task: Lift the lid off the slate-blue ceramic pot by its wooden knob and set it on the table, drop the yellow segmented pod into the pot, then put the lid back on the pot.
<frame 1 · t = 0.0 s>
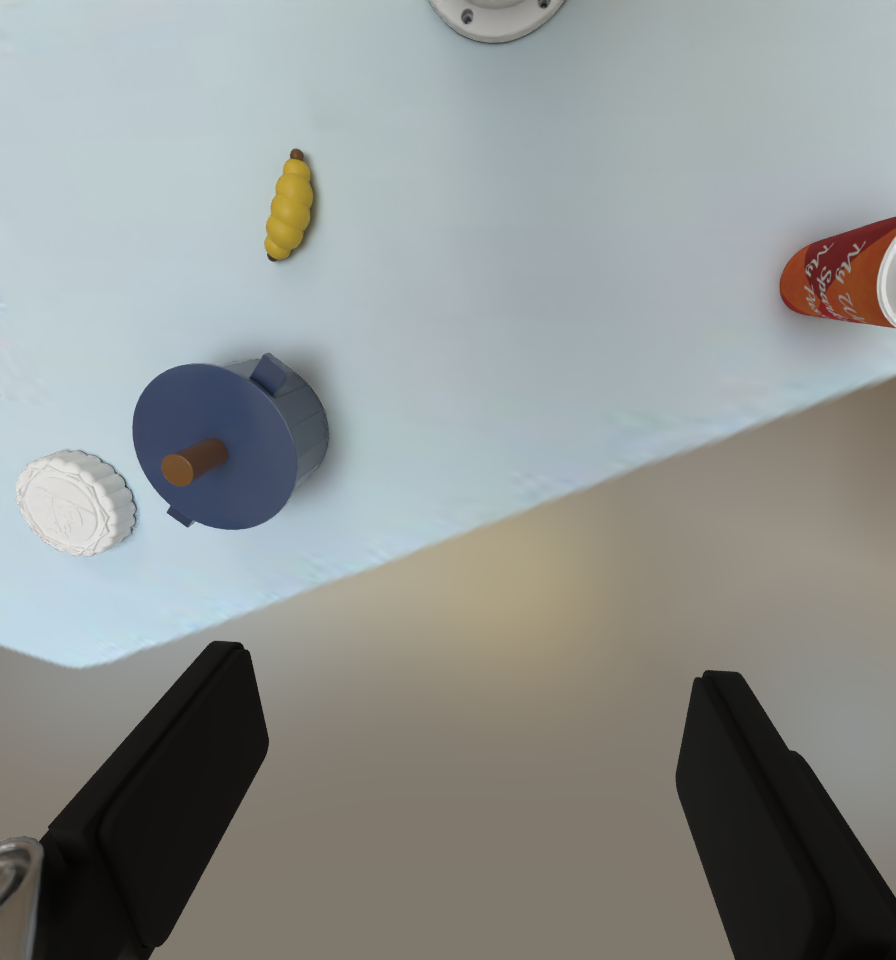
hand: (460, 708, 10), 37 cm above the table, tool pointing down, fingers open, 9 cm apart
pot: (265, 426, 49), on the table
lid: (217, 450, 41), point 8 cm above the table, touching pot
paper cup: (815, 279, 38), on the table
mooncake: (90, 498, 55), on the table
yellow segmented pod: (298, 216, 41), on the table
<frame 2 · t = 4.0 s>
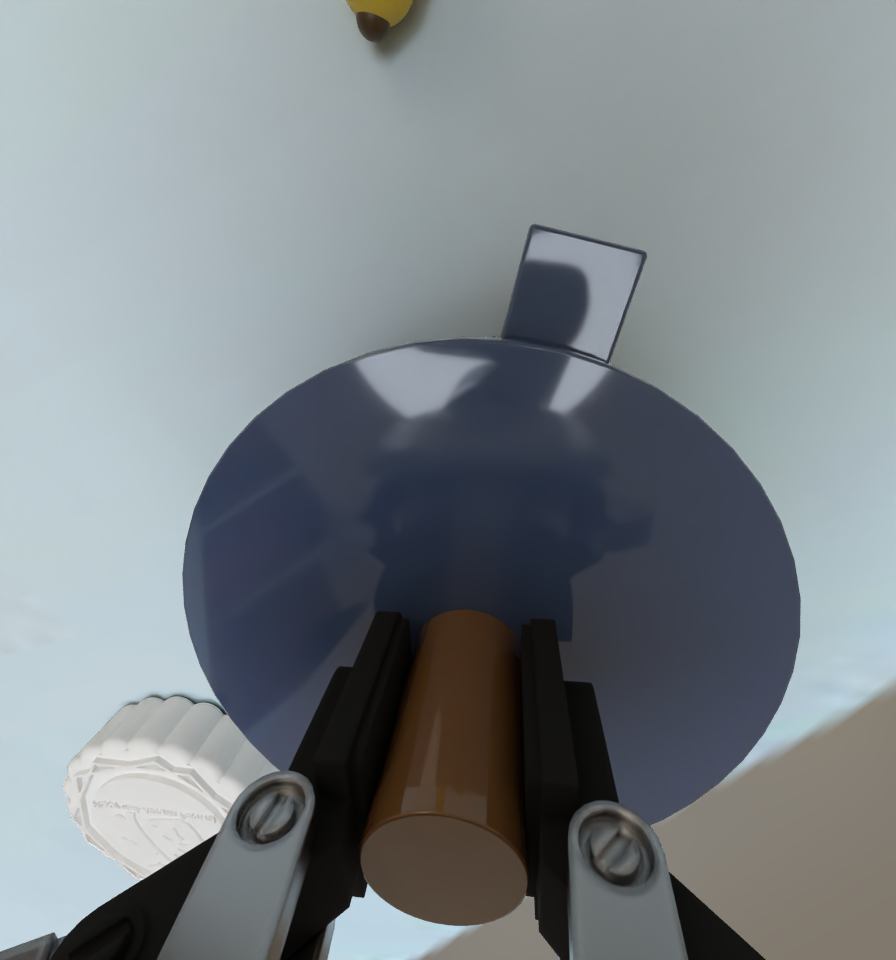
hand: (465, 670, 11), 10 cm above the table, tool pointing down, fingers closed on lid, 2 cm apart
pot: (485, 505, 20), on the table
lid: (469, 636, 12), point 9 cm above the table, touching gripper, pot
mooncake: (201, 767, 28), on the table
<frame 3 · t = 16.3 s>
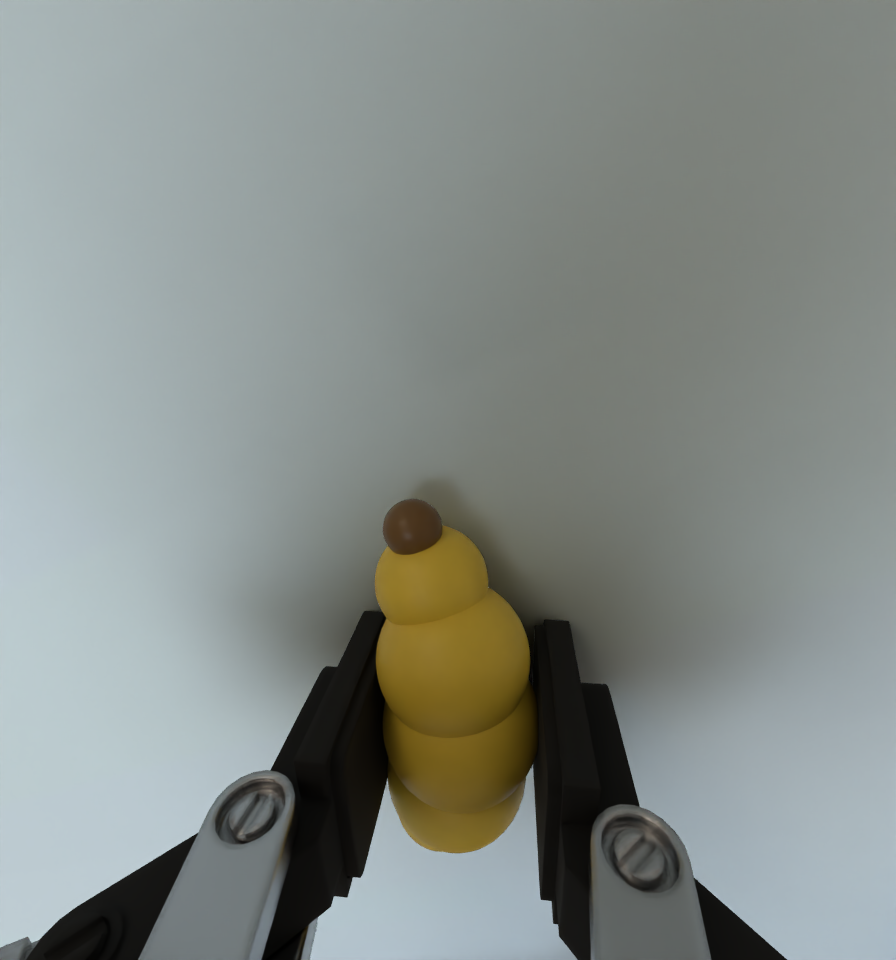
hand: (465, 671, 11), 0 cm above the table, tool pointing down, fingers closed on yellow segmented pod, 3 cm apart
yellow segmented pod: (467, 662, 11), on the table, touching gripper
when the fingers open (6 cm above the table, at t = 22.7 s): yellow segmented pod drops 5 cm, resting on pot.
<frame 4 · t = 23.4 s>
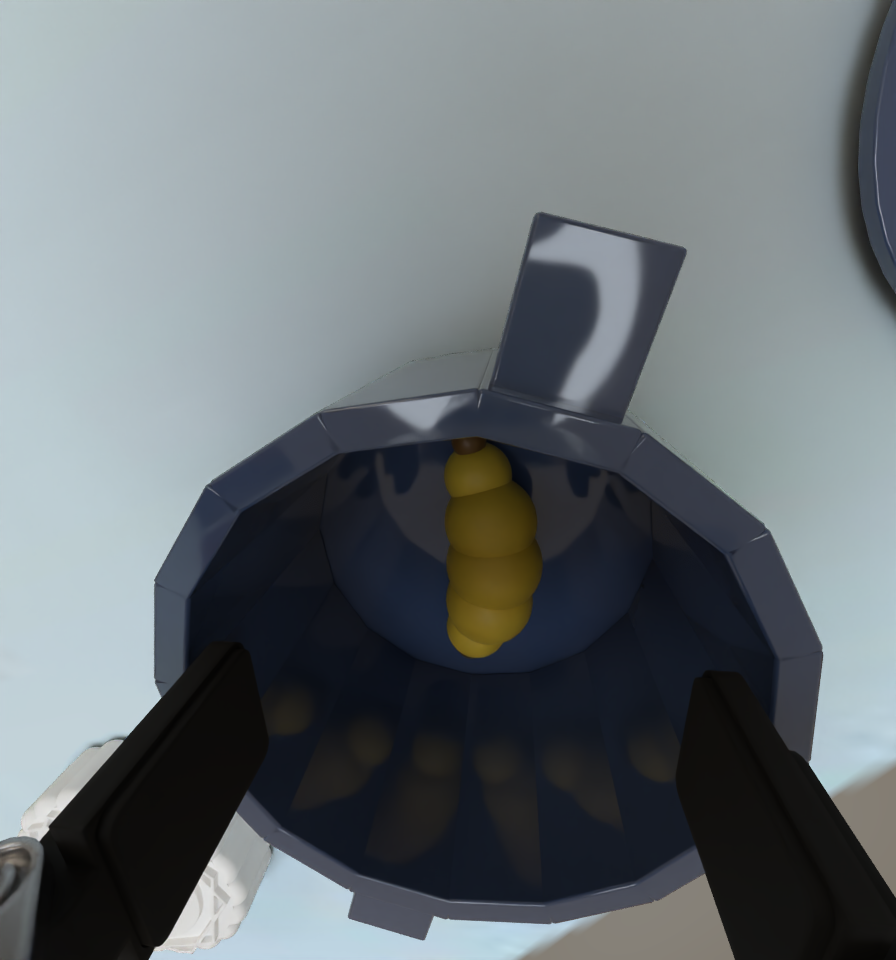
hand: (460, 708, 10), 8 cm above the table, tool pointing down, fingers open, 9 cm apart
pot: (480, 536, 18), on the table
mooncake: (173, 813, 26), on the table
yellow segmented pod: (492, 540, 17), resting on pot
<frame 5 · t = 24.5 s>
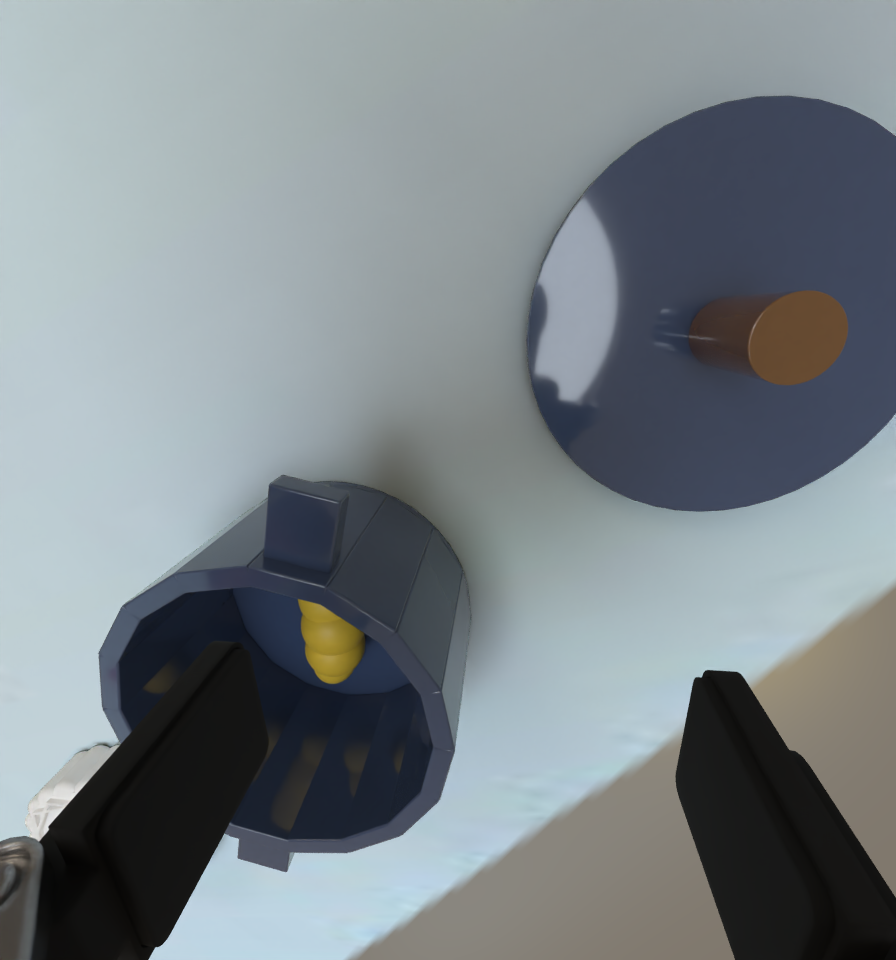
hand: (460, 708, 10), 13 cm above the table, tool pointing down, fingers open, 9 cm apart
pot: (344, 598, 25), on the table
lid: (718, 331, 18), point 1 cm above the table
mooncake: (145, 802, 34), on the table
yellow segmented pod: (349, 604, 25), point 1 cm above the table, tilted 8°, touching pot
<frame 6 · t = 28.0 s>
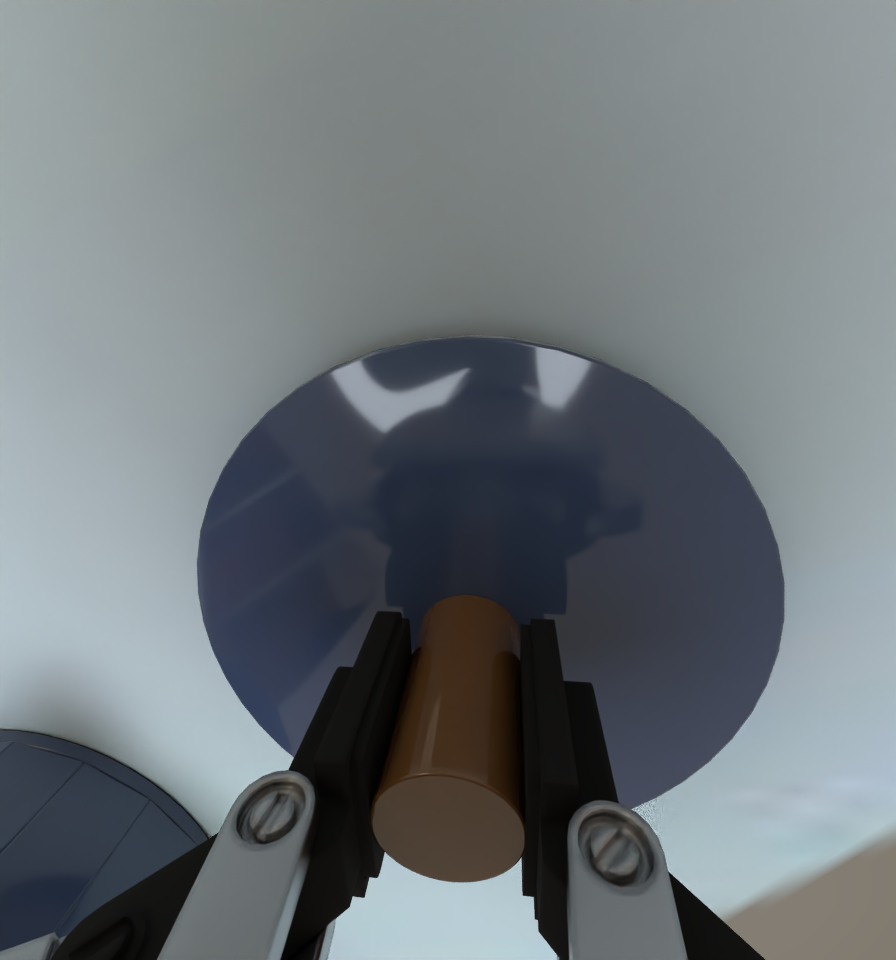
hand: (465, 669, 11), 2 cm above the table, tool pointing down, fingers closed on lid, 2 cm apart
pot: (74, 851, 20), on the table
lid: (471, 622, 13), point 1 cm above the table, touching gripper
when the fingers open (10 cm above the table, at t = 34.4 s): lid stays where it is, resting on pot.
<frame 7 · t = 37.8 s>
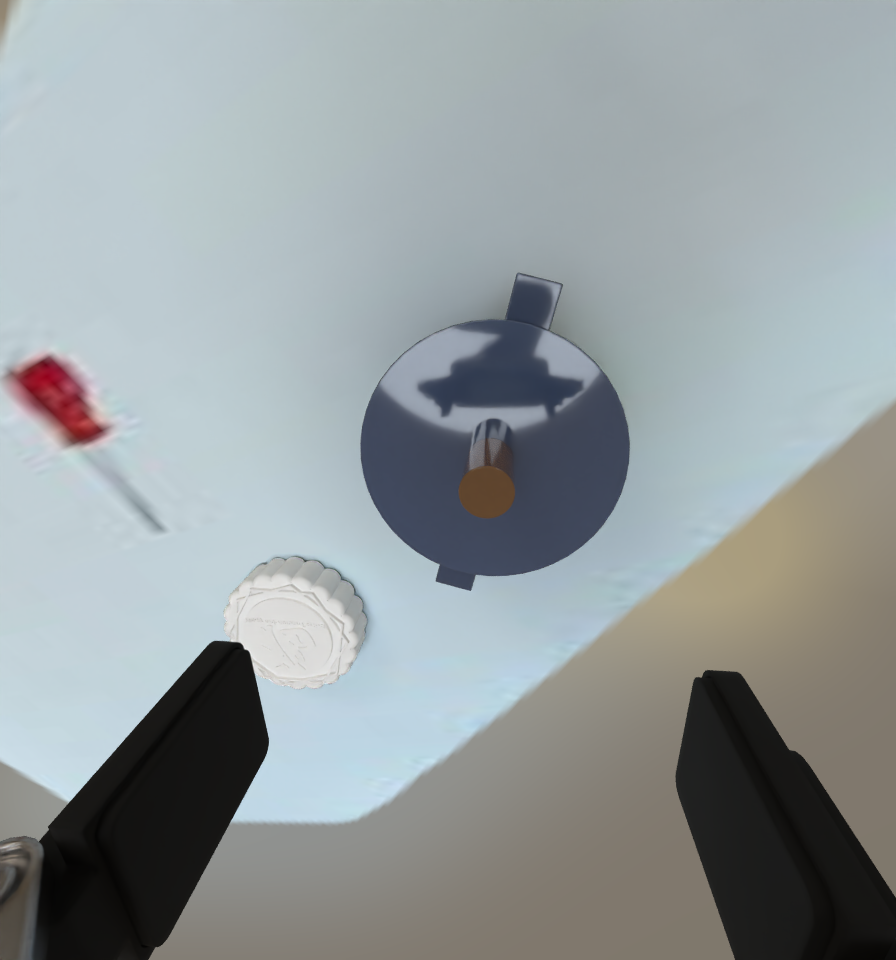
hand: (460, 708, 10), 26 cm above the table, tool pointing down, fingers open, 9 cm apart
pot: (494, 420, 34), on the table
lid: (490, 457, 26), point 8 cm above the table, touching pot
mooncake: (304, 612, 43), on the table
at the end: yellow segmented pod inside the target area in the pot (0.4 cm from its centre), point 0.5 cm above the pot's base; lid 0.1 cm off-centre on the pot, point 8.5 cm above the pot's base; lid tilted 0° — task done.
